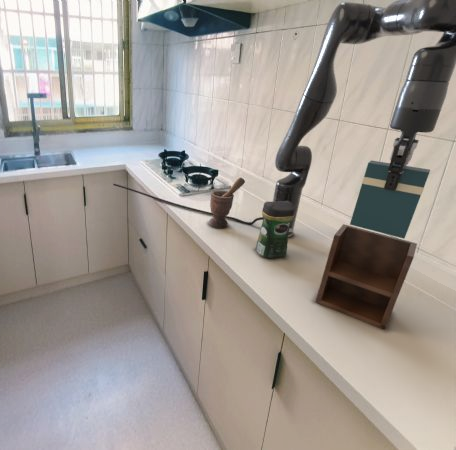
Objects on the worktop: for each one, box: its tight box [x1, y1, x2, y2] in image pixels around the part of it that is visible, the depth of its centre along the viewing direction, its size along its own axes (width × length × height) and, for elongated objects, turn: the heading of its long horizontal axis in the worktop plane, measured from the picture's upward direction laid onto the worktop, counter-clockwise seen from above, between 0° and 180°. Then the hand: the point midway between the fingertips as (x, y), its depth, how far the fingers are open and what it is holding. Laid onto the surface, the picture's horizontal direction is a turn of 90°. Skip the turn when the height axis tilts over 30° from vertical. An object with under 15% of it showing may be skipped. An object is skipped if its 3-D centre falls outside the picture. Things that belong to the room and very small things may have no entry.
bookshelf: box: [315, 223, 418, 331], centre depth 85 cm, size 16×9×20 cm, turn 50°
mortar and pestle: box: [208, 177, 246, 229], centre depth 131 cm, size 12×9×20 cm
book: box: [349, 160, 431, 240], centre depth 76 cm, size 11×4×15 cm, turn 51°
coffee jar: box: [255, 201, 295, 259], centre depth 111 cm, size 10×8×19 cm
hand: (391, 187), depth 75 cm, fingers closed on book, 3 cm apart
